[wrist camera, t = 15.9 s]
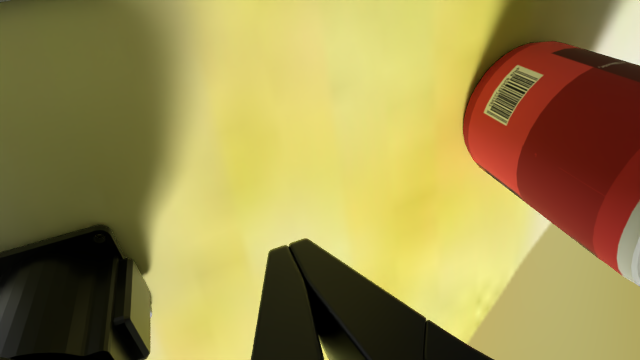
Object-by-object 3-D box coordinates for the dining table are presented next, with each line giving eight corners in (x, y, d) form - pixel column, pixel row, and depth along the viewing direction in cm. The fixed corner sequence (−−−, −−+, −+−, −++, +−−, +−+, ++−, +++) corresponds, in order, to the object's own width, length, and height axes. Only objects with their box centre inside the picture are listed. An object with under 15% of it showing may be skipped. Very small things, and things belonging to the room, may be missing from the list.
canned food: (455, 182, 26) (610, 317, 17) (461, 55, 22) (673, 149, 13) (558, 148, 28) (749, 255, 19) (583, 22, 23) (848, 86, 14)
